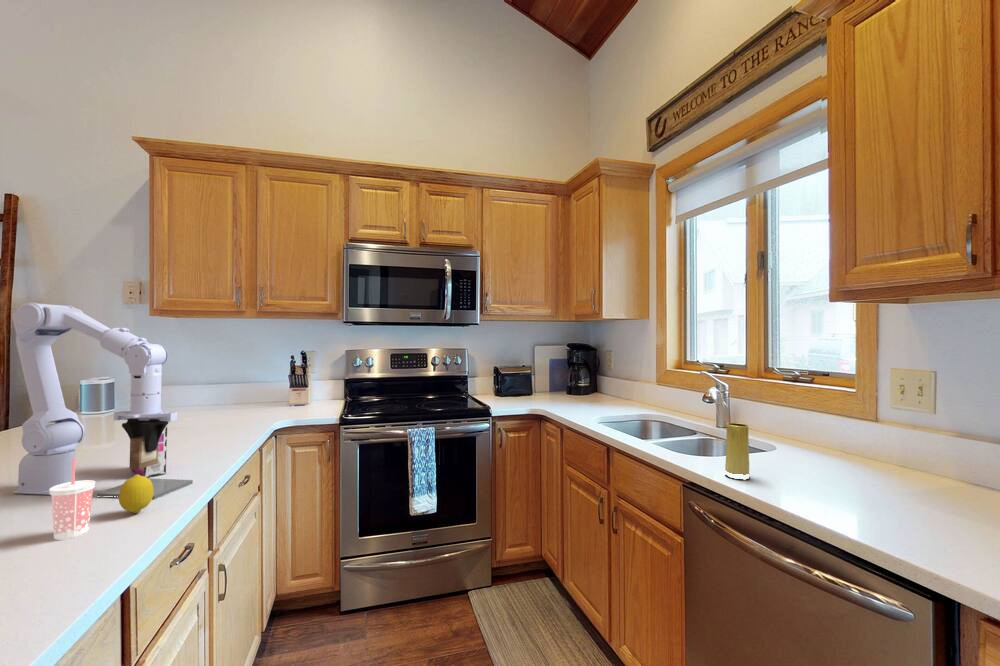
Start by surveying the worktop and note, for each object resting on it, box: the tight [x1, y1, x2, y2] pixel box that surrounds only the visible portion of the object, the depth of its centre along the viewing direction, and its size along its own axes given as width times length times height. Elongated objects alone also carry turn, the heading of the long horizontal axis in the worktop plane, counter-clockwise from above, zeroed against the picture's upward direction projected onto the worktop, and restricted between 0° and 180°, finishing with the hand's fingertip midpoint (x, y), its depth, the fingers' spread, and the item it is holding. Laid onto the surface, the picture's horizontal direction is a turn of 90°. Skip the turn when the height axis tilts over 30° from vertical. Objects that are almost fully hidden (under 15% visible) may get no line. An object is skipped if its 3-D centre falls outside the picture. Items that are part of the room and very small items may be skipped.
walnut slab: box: [129, 436, 158, 470], centre depth 104 cm, size 2×5×7 cm, turn 175°
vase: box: [724, 422, 750, 475], centre depth 119 cm, size 6×6×14 cm
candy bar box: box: [130, 417, 168, 478], centre depth 118 cm, size 11×5×16 cm, turn 55°
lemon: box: [118, 474, 154, 514], centre depth 91 cm, size 6×6×8 cm
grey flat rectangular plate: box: [96, 477, 194, 500], centre depth 104 cm, size 14×11×1 cm
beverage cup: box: [49, 457, 96, 541], centre depth 81 cm, size 6×6×14 cm
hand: (145, 450), depth 104 cm, fingers closed on walnut slab, 2 cm apart
